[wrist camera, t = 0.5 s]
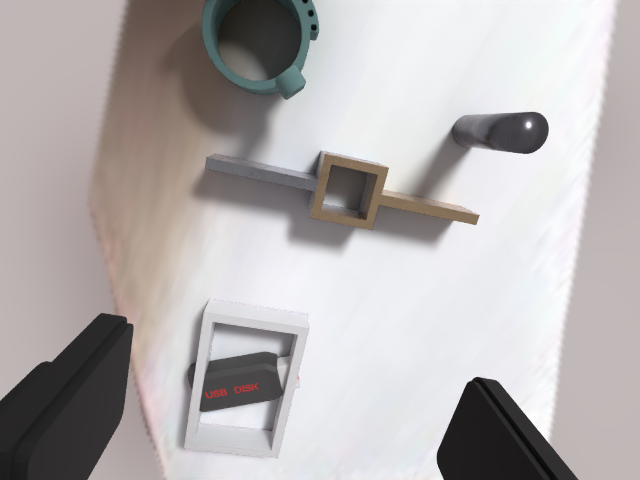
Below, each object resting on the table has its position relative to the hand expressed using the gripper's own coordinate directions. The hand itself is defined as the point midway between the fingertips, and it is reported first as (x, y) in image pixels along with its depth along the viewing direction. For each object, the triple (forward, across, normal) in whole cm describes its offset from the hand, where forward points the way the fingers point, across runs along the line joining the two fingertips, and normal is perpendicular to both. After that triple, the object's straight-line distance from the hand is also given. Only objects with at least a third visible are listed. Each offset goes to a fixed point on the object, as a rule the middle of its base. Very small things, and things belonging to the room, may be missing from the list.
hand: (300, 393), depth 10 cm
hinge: (+29, -5, -2) cm, 29 cm away
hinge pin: (+29, -16, -10) cm, 34 cm away
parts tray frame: (+29, 0, +22) cm, 36 cm away
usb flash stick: (+29, 0, +22) cm, 36 cm away
